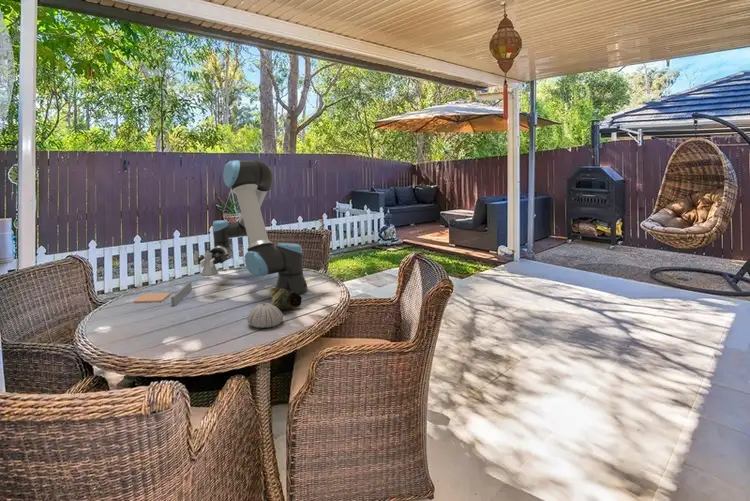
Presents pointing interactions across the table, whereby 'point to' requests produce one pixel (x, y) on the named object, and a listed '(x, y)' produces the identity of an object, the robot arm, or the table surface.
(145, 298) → the terracotta tile
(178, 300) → the low wall
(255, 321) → the sea urchin shell
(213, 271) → the flask
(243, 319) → the table surface
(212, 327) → the table surface
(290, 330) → the table surface
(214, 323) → the table surface
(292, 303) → the seashell
